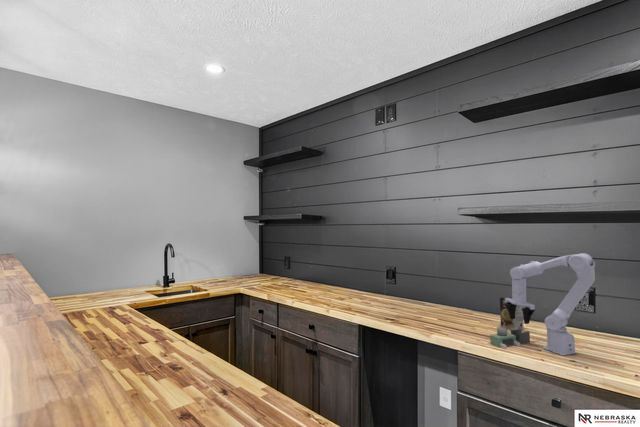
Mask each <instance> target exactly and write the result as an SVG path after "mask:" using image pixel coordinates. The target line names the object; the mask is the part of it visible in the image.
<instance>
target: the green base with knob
mask: <svg viewBox="0 0 640 427" xmlns="http://www.w3.org/2000/svg"><path fill="white" fill-rule="evenodd" d="M489 339H490V341H489V342H490V343H489V344H491V345H493V346H495V347H498V348H501V349H504V350H506V349H507V347H508V346H509V347H510V346H515V347H521V344H520V343H519V342H516V336H515V335H513V334H511V332H508V329H506V328H503V327H501V326H497V327H496V333H494V334H490V338H489Z"/></svg>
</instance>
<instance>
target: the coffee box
mask: <svg viewBox="0 0 640 427" xmlns="http://www.w3.org/2000/svg"><path fill="white" fill-rule="evenodd" d="M505 298H509V299H512V296H501V297H499V306H500V307H499V309H500V311H499V314H500V327H503V328H506V329H507V331H511V330H517V329H522V332H525V331H524V330H525V329H524V315H523V311H522V308H524V307H522V306H518V305H517V306H516V311H515V319H510V315H509V312H508V310H507V308H506V306H505V304H507V303H505Z"/></svg>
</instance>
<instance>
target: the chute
mask: <svg viewBox="0 0 640 427" xmlns="http://www.w3.org/2000/svg"><path fill="white" fill-rule="evenodd" d="M510 334H513V335H515V336H516V342H519V343H520V345H524V344H531V336H530V335H531V334H530V331H522V329H517V330H510Z"/></svg>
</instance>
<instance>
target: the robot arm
mask: <svg viewBox="0 0 640 427" xmlns="http://www.w3.org/2000/svg"><path fill="white" fill-rule="evenodd" d="M595 265H596V263H595V261H594V260H593V257H592V256H591V255H590V254H588V253H584V252H582V253H581V252H580V253H576V254H569V255H563V256H558V257H555V258H552V259H549V260H547V261H543V262H540V261H534V260H531V261H529V263H526V264H520V265H519V266H514V267H512V268H511V269H510V270H509V275H510V277H511V297H512V299H509V298H505V303H507V304H505V306H506V308H507V310H508V312H509V315H510V319H515V311H516V306H517V305H518V306H522V307H523V308H522V311H523V324H525V325H528V324H530V321H531V319H532V318H531V317H532V315H533V314H534V312H536V311H535V310H536V305H535V304H533V303H530V302H527V278H530V277H533V276H534V277H535V276H537V275H542V274H543V272H544V271H545V270H546V269H552V268H555V267H559V266H560V267H561V266H563V267H570V268H571V269H572V270H573V272H575V275H576V276H577V278H578V279H577V280H576V281H575V283H574V284H573V286H572V287H571V288H570V290H569V291H568V293H567V294H566V295H565V297H564V298H563V299H562V301H561V302H560V304H559V305H558V306H557V308H555V310H554V311H552V313H551V314H550V315H548V316H546V317H545V319H544V324H545V327H546V341H547V346H543V347H542V349H543V350H547V351H549V352H553V353H555V354H558V355H561V356H570V355H574V354H577V351H576V344H575V343H576V342H575V341H576V340H575V336H574V335H573V334H572V333H570V332H568V329H567V327H566V326H567V325H568V324H569V318H570V317H571V314H572V312H573V311H574V310H575V308H576V307H577V305H579V302H580V301H581V300H582V299H583V298H584V297H585V296H584V295H586V293H587V292H588V291H589V290H590V287H592V285H593V284H594V282H595V280H596V273H595V272H596V271H595Z"/></svg>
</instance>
